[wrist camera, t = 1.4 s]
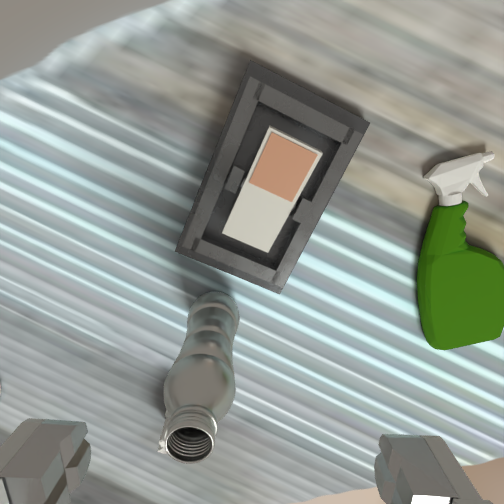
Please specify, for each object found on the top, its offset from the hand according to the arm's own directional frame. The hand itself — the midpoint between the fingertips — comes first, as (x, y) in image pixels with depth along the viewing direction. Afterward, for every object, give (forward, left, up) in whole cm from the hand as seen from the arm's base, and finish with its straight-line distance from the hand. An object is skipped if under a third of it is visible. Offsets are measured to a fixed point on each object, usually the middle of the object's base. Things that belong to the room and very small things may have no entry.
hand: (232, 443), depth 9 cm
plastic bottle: (-5, -12, -31) cm, 33 cm away
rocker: (+3, +3, -26) cm, 26 cm away
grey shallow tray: (+3, +3, -30) cm, 31 cm away
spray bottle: (+26, -8, -31) cm, 41 cm away
